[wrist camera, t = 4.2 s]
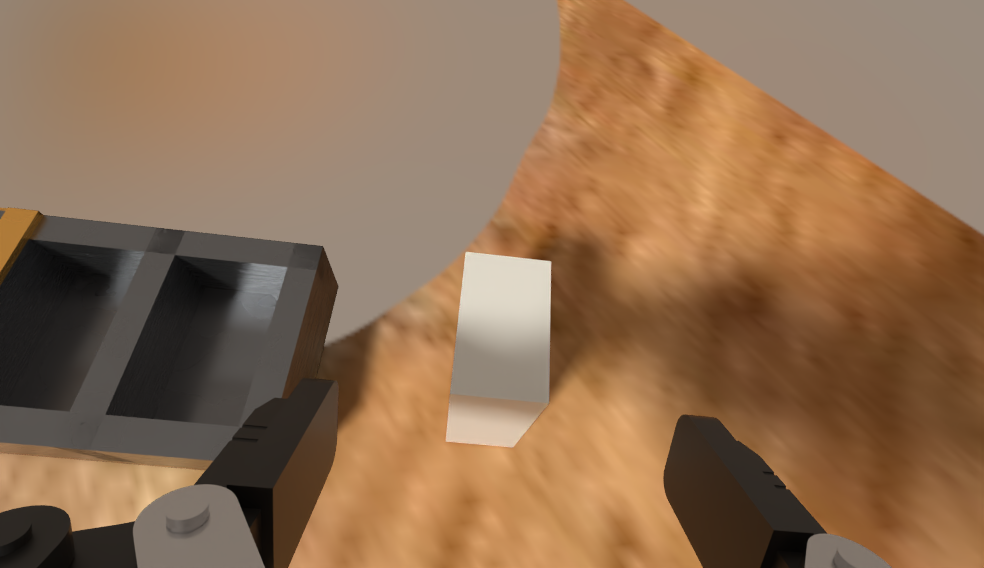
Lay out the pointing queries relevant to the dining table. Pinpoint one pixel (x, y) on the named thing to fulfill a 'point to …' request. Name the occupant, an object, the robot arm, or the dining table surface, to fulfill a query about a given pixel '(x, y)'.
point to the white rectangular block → (500, 350)
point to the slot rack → (149, 336)
